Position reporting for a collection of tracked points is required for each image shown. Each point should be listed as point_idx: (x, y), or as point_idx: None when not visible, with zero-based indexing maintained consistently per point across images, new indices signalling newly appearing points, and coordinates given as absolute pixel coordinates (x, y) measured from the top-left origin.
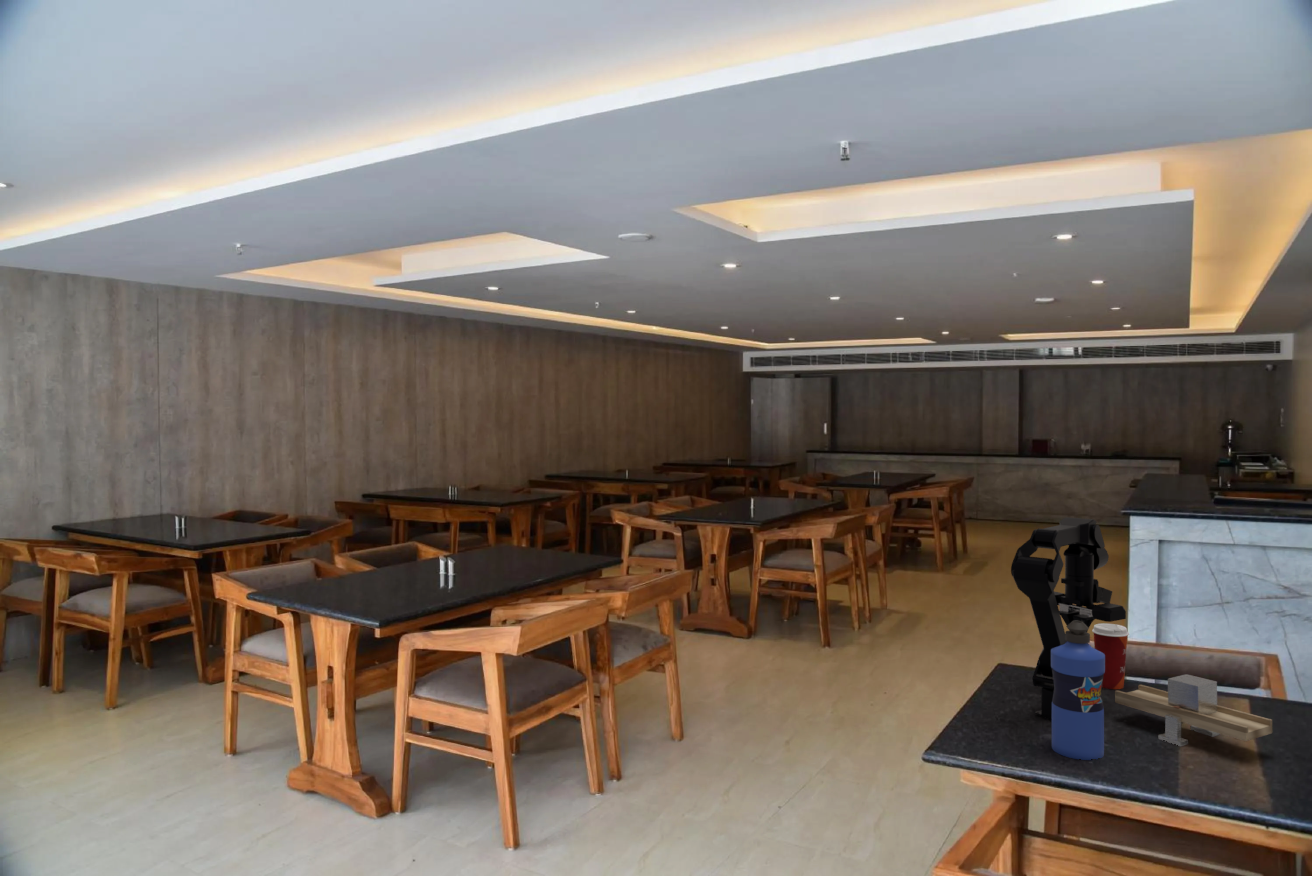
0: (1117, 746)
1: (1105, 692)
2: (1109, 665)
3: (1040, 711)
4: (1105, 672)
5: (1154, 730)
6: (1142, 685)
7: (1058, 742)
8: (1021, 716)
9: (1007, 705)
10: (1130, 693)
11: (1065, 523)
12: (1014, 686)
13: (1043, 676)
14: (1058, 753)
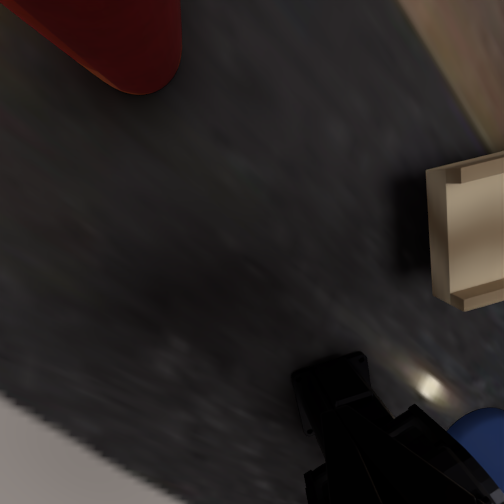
0: (496, 369)
1: (199, 127)
2: (159, 40)
3: (307, 423)
4: (150, 68)
5: None
6: (471, 171)
7: None
8: (301, 459)
9: (228, 457)
10: (460, 242)
11: None
12: (78, 374)
13: (321, 494)
14: None
